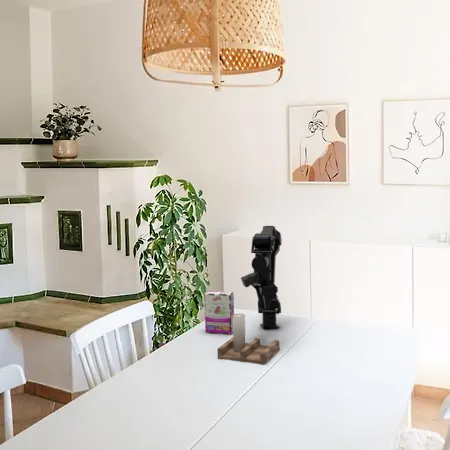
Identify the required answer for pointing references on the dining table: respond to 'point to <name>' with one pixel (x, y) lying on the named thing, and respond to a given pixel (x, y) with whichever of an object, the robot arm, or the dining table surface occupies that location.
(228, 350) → the wooden compartment tray
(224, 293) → the candy bar box
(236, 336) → the rounded tapered clay block
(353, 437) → the dining table surface
